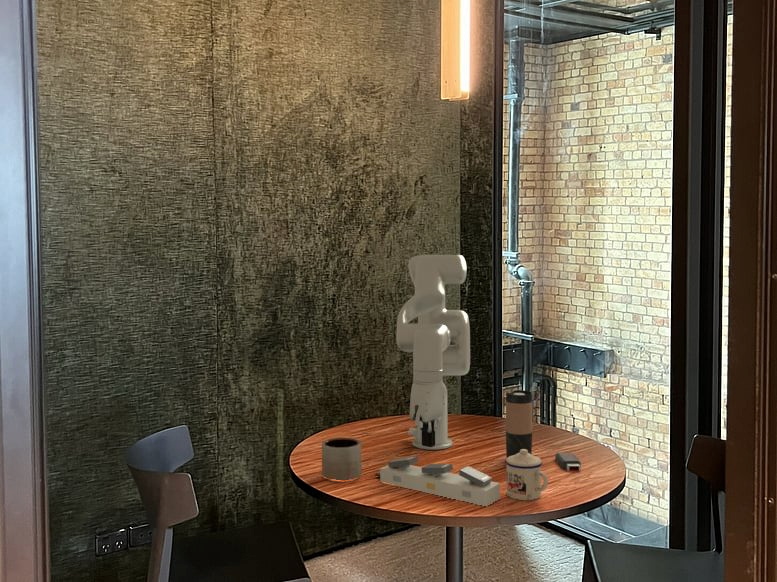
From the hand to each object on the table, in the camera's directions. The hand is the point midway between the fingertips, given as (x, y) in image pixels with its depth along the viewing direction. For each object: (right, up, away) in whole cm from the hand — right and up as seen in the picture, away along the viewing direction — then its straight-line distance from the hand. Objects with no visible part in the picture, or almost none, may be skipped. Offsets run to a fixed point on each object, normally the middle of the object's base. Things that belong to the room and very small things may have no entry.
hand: (428, 445), depth 199 cm
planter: (-23, -11, +11) cm, 28 cm away
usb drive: (+41, -10, +20) cm, 47 cm away
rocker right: (+11, -7, -8) cm, 15 cm away
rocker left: (-6, -6, +5) cm, 10 cm away
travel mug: (+28, -10, +25) cm, 38 cm away
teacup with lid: (+25, -12, -6) cm, 28 cm away
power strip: (+1, -11, 0) cm, 11 cm away
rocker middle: (+2, -6, -2) cm, 7 cm away
